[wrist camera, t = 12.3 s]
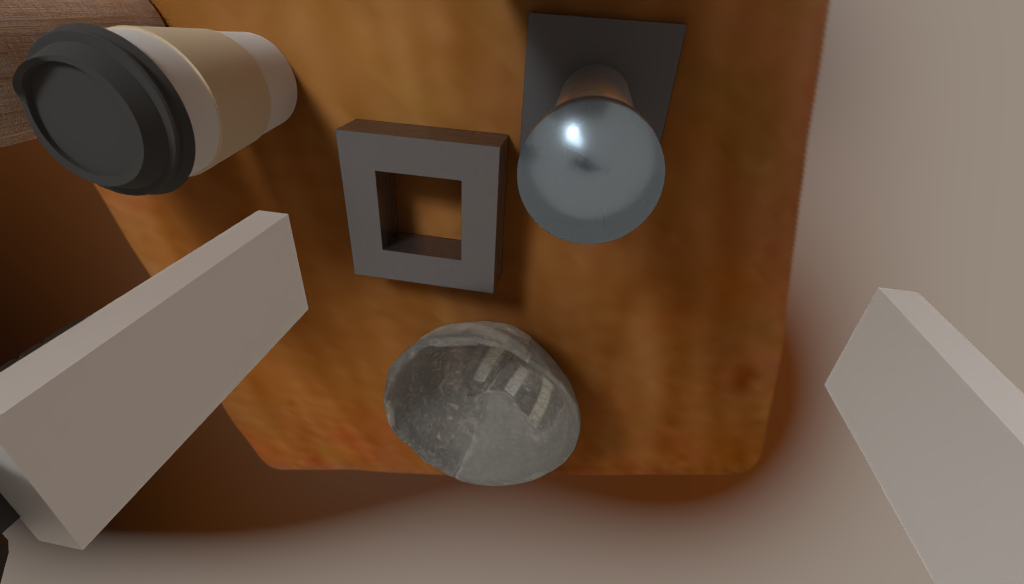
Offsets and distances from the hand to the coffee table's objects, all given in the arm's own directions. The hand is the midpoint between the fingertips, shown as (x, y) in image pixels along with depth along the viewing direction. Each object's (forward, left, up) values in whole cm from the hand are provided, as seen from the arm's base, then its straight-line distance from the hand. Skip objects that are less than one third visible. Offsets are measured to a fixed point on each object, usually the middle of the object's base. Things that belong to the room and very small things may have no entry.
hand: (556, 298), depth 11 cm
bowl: (+26, -6, -27) cm, 38 cm away
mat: (0, 0, -27) cm, 27 cm away
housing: (+9, -12, -27) cm, 30 cm away
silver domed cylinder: (0, 0, -26) cm, 26 cm away
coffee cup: (+1, -26, -27) cm, 37 cm away
